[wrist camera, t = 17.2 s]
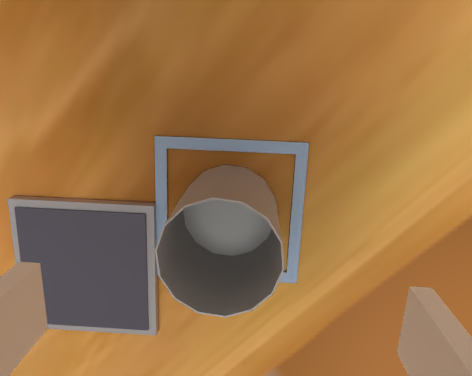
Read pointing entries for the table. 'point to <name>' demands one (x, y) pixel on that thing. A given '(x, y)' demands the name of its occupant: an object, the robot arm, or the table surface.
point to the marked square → (238, 146)
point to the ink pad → (91, 261)
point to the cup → (222, 243)
